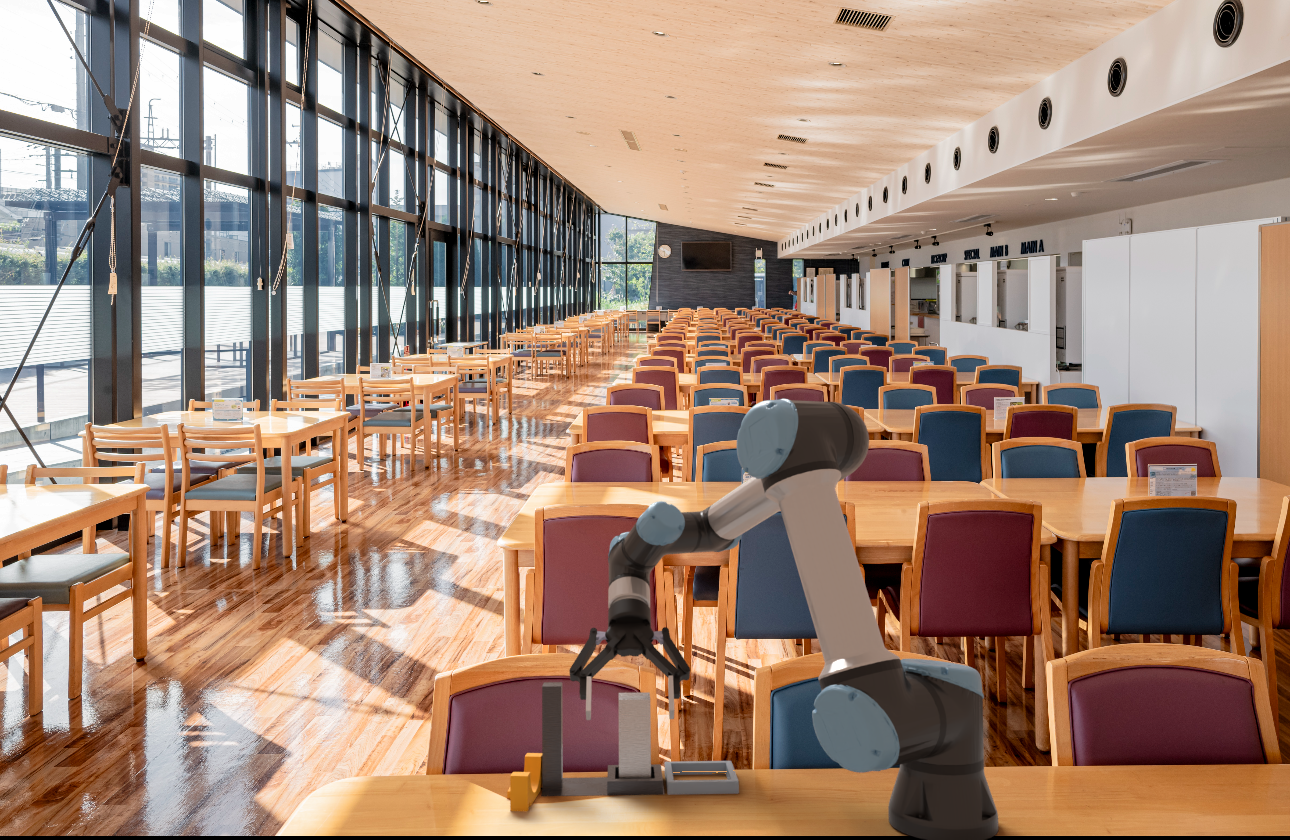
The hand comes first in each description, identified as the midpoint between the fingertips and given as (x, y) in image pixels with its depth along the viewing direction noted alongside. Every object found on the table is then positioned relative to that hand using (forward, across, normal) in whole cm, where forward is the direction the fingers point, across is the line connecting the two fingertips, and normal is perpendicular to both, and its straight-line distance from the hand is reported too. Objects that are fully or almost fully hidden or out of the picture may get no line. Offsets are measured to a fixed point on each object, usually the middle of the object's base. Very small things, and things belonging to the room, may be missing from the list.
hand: (630, 715), depth 164 cm
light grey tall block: (+10, -1, -4) cm, 11 cm away
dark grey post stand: (+11, +4, -5) cm, 13 cm away
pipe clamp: (+15, +17, -2) cm, 22 cm away
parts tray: (+10, -11, -6) cm, 16 cm away
